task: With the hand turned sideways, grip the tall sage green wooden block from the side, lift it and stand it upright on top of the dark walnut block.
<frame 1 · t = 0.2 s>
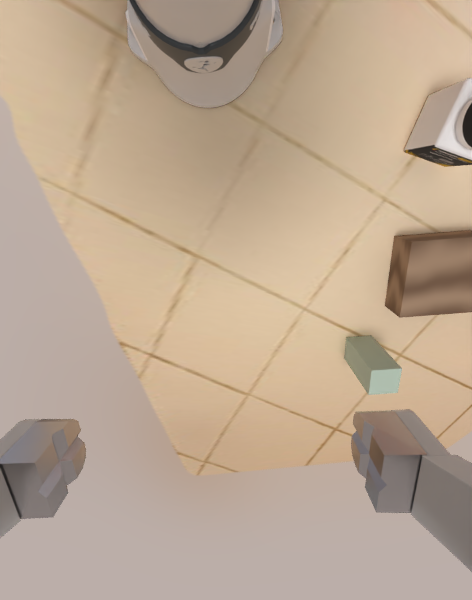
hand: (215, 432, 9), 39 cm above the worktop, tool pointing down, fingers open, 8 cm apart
walnut block: (424, 269, 48), on the worktop
sage block: (357, 347, 53), on the worktop
medicine bottle: (436, 132, 40), on the worktop
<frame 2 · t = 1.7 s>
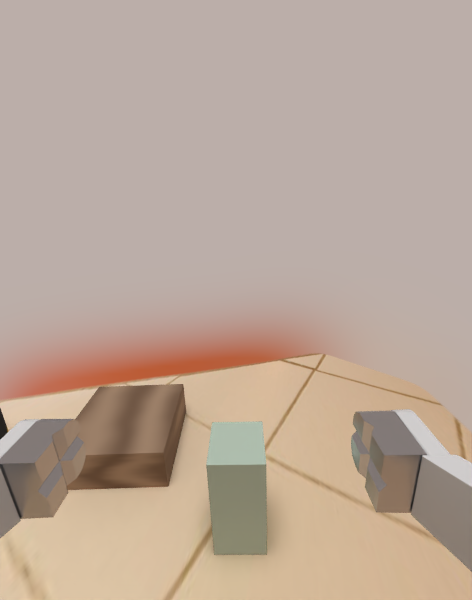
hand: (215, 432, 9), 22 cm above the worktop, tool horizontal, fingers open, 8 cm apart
walnut block: (132, 446, 37), on the worktop
sage block: (240, 526, 27), on the worktop
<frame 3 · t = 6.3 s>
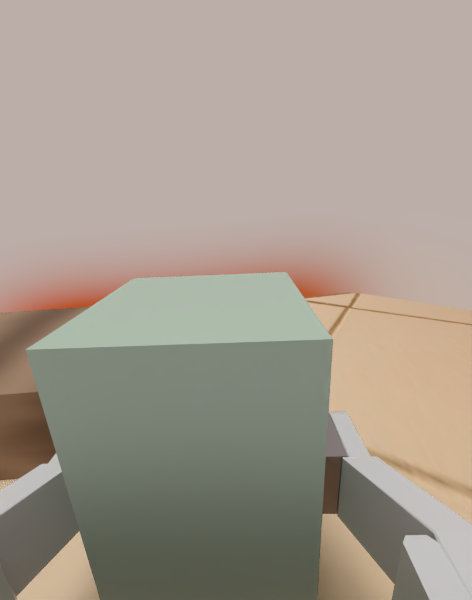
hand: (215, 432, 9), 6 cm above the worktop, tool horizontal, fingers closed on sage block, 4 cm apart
walnut block: (27, 408, 19), on the worktop
sage block: (225, 591, 9), on the worktop, touching gripper
when the fingers open (12 cm above the worktop, at t = 11.2 s): sage block drops 2 cm, point 5 cm above the worktop.
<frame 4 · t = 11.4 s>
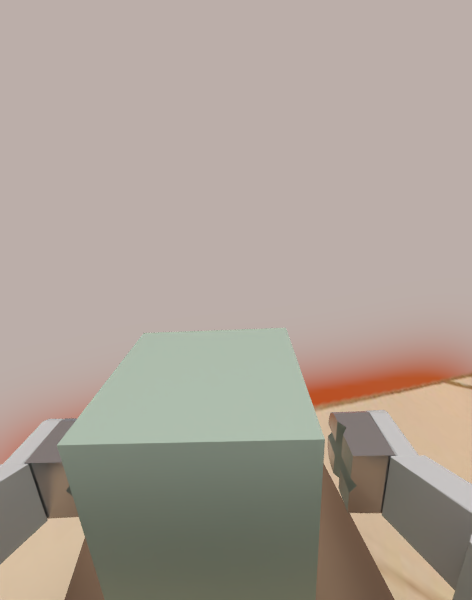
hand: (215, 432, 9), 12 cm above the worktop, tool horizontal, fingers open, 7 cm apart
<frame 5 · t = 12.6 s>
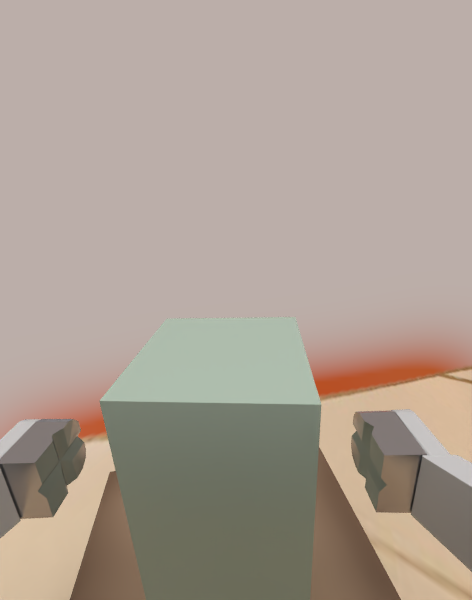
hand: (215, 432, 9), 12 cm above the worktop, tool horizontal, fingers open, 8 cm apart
sage block: (237, 581, 11), point 5 cm above the worktop, touching walnut block
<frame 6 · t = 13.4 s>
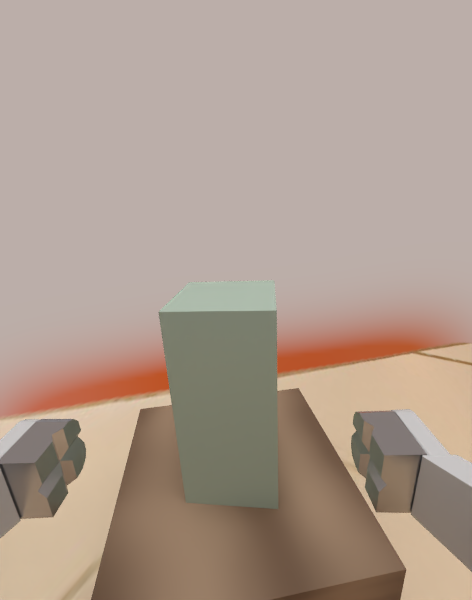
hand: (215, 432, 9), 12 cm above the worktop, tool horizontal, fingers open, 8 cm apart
walnut block: (236, 528, 18), on the worktop
sage block: (236, 465, 16), point 5 cm above the worktop
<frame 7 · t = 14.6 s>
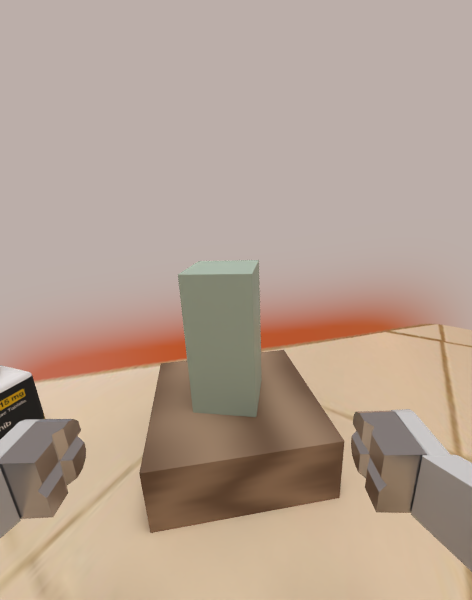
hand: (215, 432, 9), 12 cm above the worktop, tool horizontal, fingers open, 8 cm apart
walnut block: (235, 445, 24), on the worktop
sage block: (229, 394, 22), point 5 cm above the worktop
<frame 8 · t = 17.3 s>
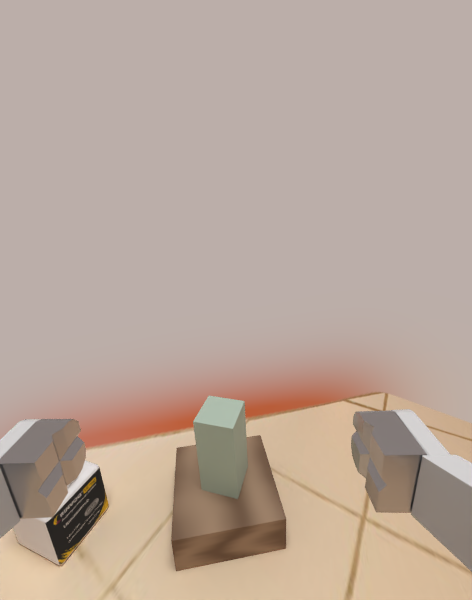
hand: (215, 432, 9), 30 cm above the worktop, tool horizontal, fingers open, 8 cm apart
walnut block: (226, 508, 37), on the worktop, touching sage block
sage block: (225, 477, 36), point 5 cm above the worktop, touching walnut block
medicine bottle: (66, 525, 36), on the worktop
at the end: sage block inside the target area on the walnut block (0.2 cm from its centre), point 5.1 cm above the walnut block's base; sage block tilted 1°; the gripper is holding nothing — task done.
